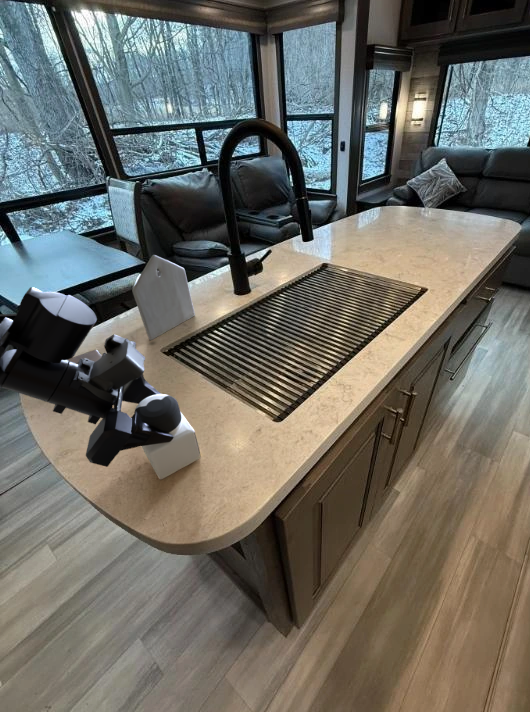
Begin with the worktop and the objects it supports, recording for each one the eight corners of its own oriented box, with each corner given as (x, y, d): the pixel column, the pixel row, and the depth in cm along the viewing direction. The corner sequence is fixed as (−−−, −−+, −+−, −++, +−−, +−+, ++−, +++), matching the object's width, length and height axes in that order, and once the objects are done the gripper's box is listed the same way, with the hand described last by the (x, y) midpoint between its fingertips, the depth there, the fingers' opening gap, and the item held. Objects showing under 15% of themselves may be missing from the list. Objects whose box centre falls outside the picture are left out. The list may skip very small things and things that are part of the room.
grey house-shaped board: (176, 309, 100) (158, 242, 88) (195, 315, 96) (179, 246, 84) (130, 333, 89) (102, 259, 77) (150, 340, 86) (124, 265, 73)
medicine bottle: (202, 458, 56) (189, 409, 47) (160, 481, 52) (139, 432, 44) (183, 431, 59) (169, 382, 51) (143, 451, 56) (121, 401, 48)
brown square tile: (68, 388, 70) (64, 381, 69) (58, 370, 76) (54, 363, 75) (112, 371, 75) (108, 364, 74) (99, 355, 80) (96, 348, 79)
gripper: (73, 379, 33) (207, 428, 42) (99, 302, 47) (196, 352, 56) (25, 451, 36) (161, 482, 45) (63, 358, 50) (160, 397, 59)
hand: (171, 421), depth 52 cm, fingers closed on medicine bottle, 7 cm apart
